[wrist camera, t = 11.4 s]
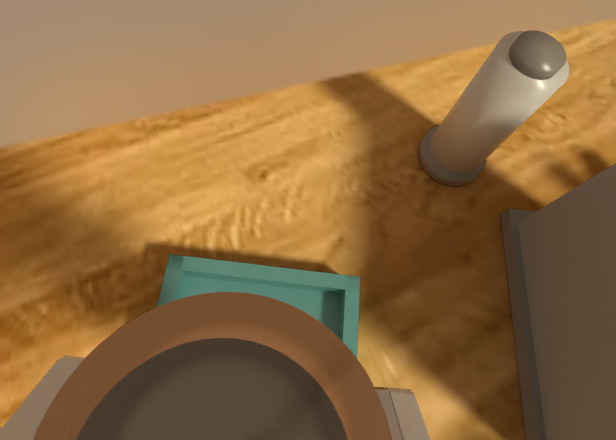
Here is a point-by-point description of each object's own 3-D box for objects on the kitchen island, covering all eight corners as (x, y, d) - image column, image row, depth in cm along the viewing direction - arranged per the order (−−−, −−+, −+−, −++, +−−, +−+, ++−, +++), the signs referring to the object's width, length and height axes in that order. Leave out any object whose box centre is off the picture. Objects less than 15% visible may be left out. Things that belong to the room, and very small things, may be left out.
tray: (352, 285, 24) (360, 276, 22) (339, 565, 19) (348, 585, 17) (176, 264, 23) (169, 254, 21) (111, 551, 18) (93, 570, 16)
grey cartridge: (476, 136, 30) (576, 24, 20) (481, 190, 28) (594, 94, 18) (417, 127, 29) (492, 9, 20) (418, 181, 27) (501, 79, 18)
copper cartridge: (319, 346, 14) (448, 270, 5) (307, 503, 12) (480, 905, 3) (187, 332, 13) (37, 219, 4) (154, 491, 12) (-238, 908, 2)
